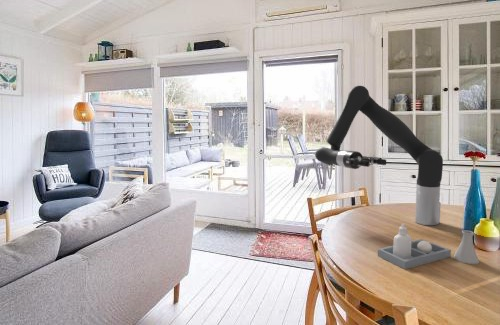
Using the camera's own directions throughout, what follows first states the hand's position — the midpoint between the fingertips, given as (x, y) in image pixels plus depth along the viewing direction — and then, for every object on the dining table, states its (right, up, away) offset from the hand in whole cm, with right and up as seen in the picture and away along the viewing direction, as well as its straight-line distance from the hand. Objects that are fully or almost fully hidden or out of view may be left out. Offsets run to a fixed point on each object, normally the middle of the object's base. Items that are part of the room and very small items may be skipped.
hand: (377, 163), depth 121 cm
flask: (+21, -32, -19) cm, 43 cm away
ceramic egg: (+10, -31, -14) cm, 36 cm away
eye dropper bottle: (+1, -32, -18) cm, 37 cm away
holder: (+6, -32, -16) cm, 36 cm away
